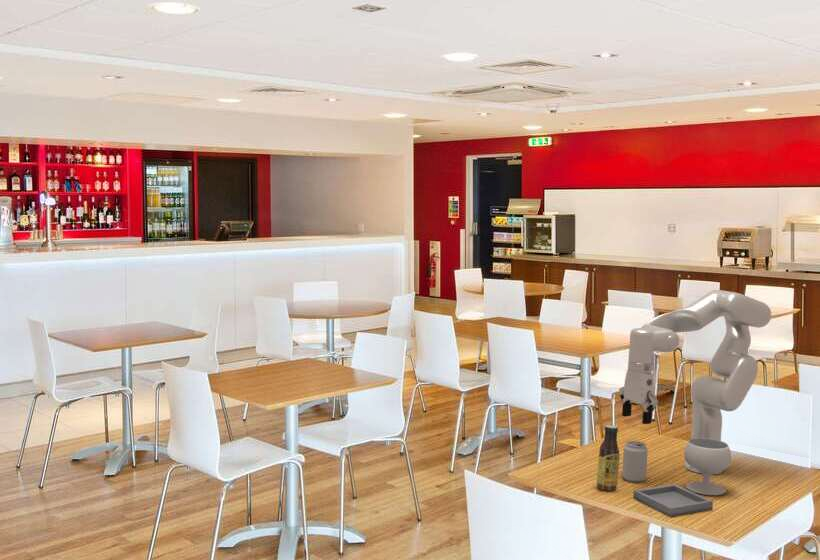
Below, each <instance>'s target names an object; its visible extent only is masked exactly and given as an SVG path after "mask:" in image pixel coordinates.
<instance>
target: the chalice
mask: <svg viewBox="0 0 820 560" xmlns="http://www.w3.org/2000/svg"><path fill="white" fill-rule="evenodd" d="M683 456H684V460H685V462H686V461H687V463H688V464H689V465H691V466H692V467H693V468H695V469H697V470H698V471H699V472H700V473H699V474H701V476H702V481H700V480H699V481H698V480H697V481H691V482H687V483H685V485H684V488H685V489H686V490H689V491H691V492H693V493H695V494H698V495H700V494H701V495H705V496H706V495H707V496H721V495H724V494H726V492H727V490H726V488H725V487H723V486H721V485H719V484H715V483H714V482H710V478H711V476H712V475H715V474H714V473H716V472H718V471H721V470H726V469H728V467H729V466H730V465H731V463H732V452H731V449H730V446H729V445H728V443H726V442H724V441H722V440H721V441H719V440H715V439H709V438H694V439H691V438H690V439H689V441H688V442H687V444H686V446H685V448H684V453H683Z"/></svg>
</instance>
